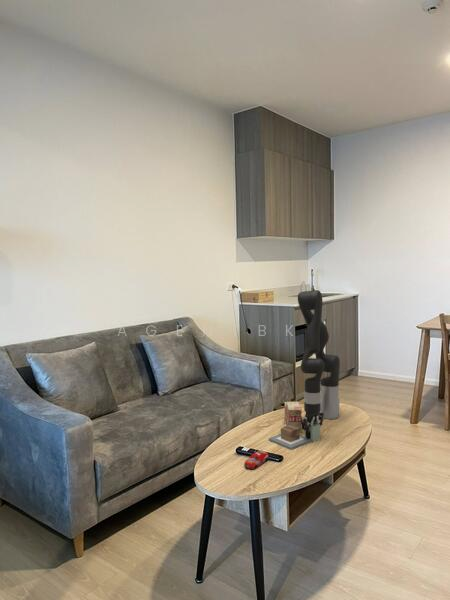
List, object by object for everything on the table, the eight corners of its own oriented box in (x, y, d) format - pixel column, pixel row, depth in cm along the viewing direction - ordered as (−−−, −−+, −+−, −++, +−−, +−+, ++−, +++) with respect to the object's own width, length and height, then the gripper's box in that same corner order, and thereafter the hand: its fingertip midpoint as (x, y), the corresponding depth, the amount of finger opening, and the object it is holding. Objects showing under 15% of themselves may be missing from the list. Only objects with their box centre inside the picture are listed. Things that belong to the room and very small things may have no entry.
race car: (252, 472, 172) (252, 462, 172) (241, 468, 175) (241, 458, 175) (271, 460, 182) (271, 450, 182) (260, 456, 186) (260, 447, 185)
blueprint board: (289, 432, 211) (289, 420, 210) (312, 441, 200) (311, 428, 199) (268, 440, 202) (268, 427, 202) (290, 449, 191) (290, 436, 191)
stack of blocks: (284, 418, 232) (284, 396, 231) (296, 418, 231) (296, 396, 230) (288, 434, 210) (288, 409, 209) (301, 434, 210) (301, 409, 209)
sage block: (311, 435, 207) (311, 421, 206) (320, 439, 203) (320, 424, 202) (304, 438, 203) (304, 423, 203) (313, 441, 200) (313, 426, 199)
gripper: (316, 396, 209) (316, 430, 210) (295, 402, 200) (295, 438, 201) (328, 399, 203) (328, 435, 204) (308, 406, 194) (308, 443, 196)
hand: (312, 436), depth 203 cm, fingers closed on sage block, 5 cm apart
